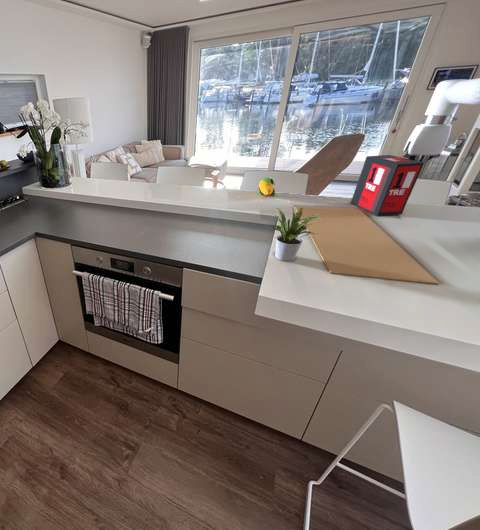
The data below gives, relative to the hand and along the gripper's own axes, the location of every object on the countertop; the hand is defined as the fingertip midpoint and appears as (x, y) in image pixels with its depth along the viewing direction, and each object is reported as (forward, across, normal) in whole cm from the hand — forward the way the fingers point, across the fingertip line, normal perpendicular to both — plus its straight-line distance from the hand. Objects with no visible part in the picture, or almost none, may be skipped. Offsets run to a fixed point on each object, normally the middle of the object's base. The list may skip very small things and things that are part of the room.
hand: (412, 173), depth 111 cm
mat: (+15, +26, +31) cm, 43 cm away
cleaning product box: (+15, +8, 0) cm, 17 cm away
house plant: (+15, +48, +54) cm, 74 cm away
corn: (+15, +48, -16) cm, 52 cm away
